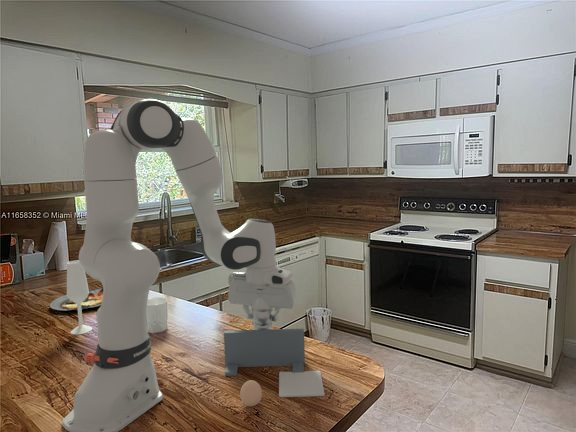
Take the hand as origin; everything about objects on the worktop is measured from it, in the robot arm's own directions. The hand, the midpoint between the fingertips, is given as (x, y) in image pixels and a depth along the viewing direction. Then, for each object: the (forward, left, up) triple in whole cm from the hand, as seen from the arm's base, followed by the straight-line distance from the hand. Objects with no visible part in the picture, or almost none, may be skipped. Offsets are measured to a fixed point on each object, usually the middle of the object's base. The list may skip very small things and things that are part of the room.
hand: (262, 319), depth 119 cm
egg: (-25, -6, -10) cm, 28 cm away
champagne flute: (0, +66, -10) cm, 67 cm away
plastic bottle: (0, 0, -10) cm, 10 cm away
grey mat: (-14, -15, -10) cm, 23 cm away
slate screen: (-9, -4, -10) cm, 14 cm away
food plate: (+23, +85, -11) cm, 89 cm away
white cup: (+7, +41, -10) cm, 43 cm away
